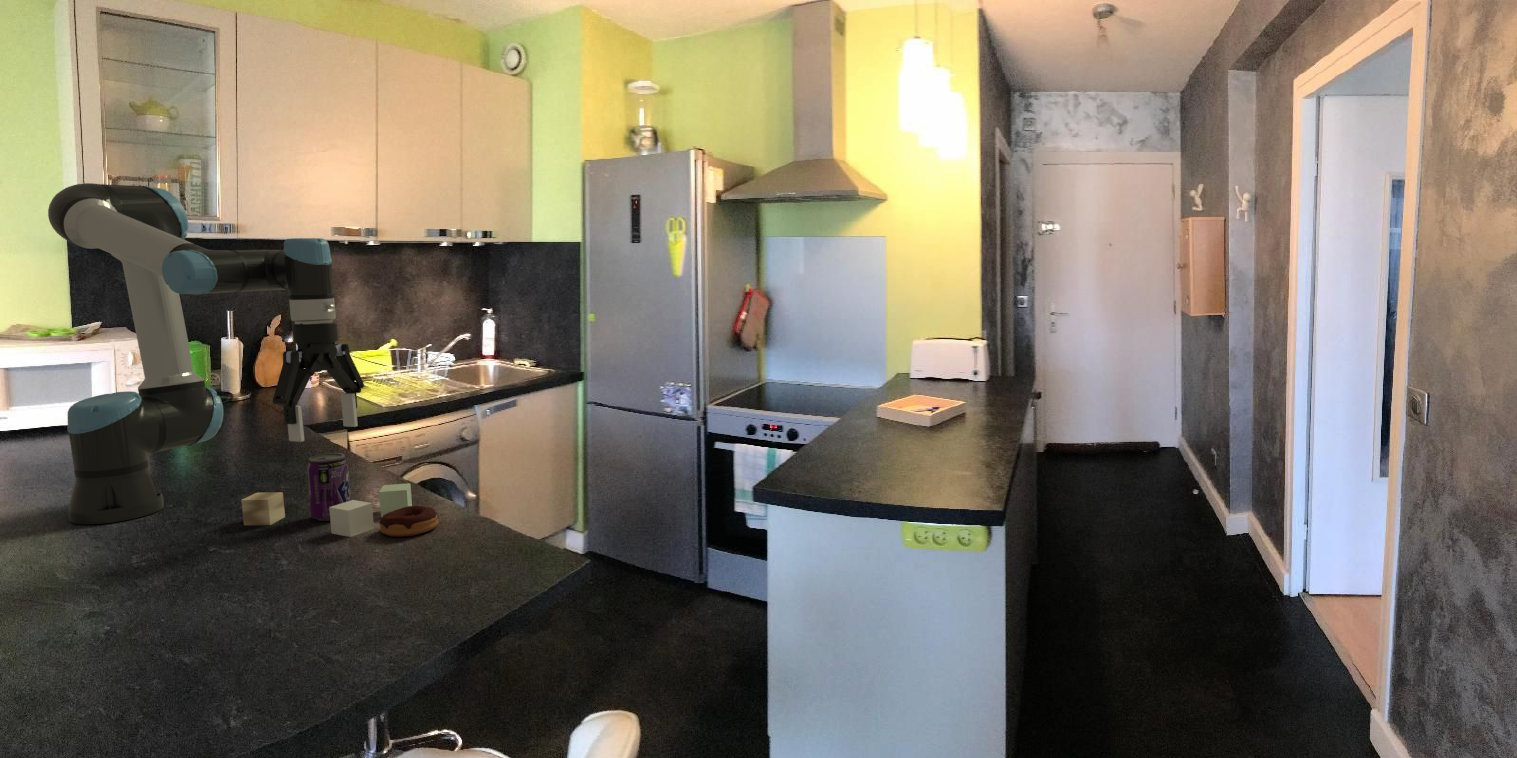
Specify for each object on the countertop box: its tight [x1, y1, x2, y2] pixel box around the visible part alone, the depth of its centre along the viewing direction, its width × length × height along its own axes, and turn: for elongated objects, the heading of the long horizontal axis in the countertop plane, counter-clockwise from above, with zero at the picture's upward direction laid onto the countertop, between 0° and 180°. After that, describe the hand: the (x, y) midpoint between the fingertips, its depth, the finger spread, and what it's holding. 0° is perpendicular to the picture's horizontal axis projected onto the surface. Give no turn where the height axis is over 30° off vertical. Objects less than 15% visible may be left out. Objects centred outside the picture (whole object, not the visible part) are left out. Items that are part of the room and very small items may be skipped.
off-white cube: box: [329, 499, 375, 538], centre depth 157 cm, size 5×5×5 cm
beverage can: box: [306, 452, 352, 522], centre depth 165 cm, size 7×7×12 cm
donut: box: [378, 505, 440, 538], centre depth 157 cm, size 10×10×4 cm
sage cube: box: [378, 483, 413, 518], centre depth 168 cm, size 5×5×5 cm
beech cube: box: [241, 491, 286, 526], centre depth 164 cm, size 5×5×5 cm
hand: (324, 433), depth 163 cm, fingers open, 13 cm apart
